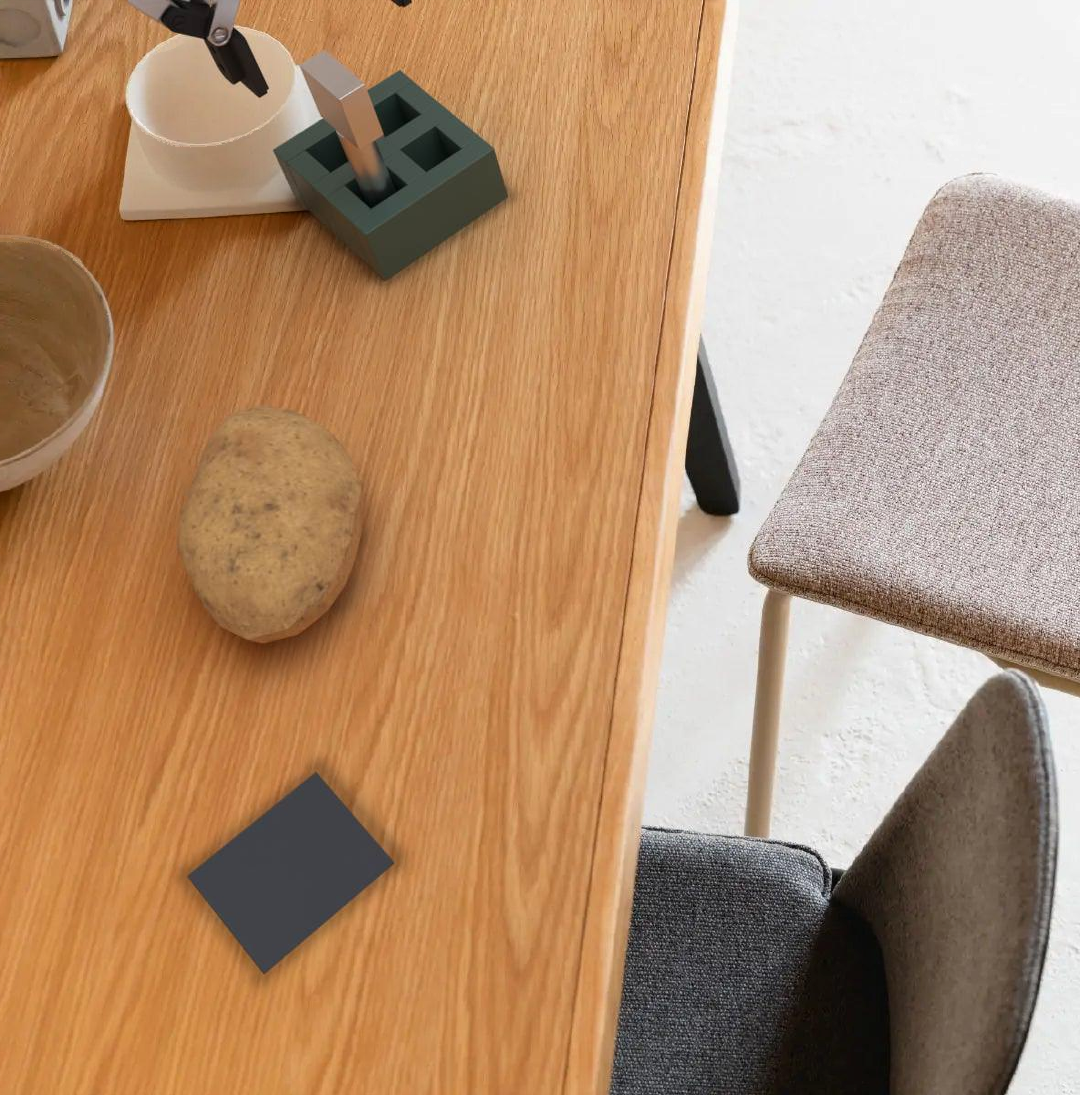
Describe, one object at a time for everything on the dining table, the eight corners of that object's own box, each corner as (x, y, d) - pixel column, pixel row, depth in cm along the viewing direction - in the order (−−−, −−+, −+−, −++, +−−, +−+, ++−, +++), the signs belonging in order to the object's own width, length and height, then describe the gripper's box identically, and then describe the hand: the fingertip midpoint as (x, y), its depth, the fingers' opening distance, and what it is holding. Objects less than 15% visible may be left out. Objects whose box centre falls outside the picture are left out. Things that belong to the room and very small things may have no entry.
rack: (297, 203, 98) (272, 149, 93) (419, 125, 101) (399, 69, 97) (387, 287, 94) (365, 234, 90) (510, 202, 98) (494, 148, 93)
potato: (200, 686, 81) (138, 621, 74) (222, 472, 87) (168, 394, 80) (378, 666, 81) (334, 600, 74) (386, 455, 88) (346, 376, 81)
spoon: (366, 230, 97) (297, 65, 84) (391, 213, 97) (325, 48, 85) (403, 263, 95) (337, 100, 83) (427, 246, 96) (366, 82, 84)
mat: (190, 879, 75) (186, 876, 75) (319, 775, 78) (315, 771, 77) (268, 977, 73) (263, 974, 72) (397, 866, 75) (394, 862, 75)
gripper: (309, -369, 71) (406, -69, 86) (-10, -207, 65) (153, 85, 80) (402, -307, 68) (485, -8, 83) (77, -132, 63) (229, 155, 78)
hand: (322, 37), depth 82 cm, fingers open, 9 cm apart
